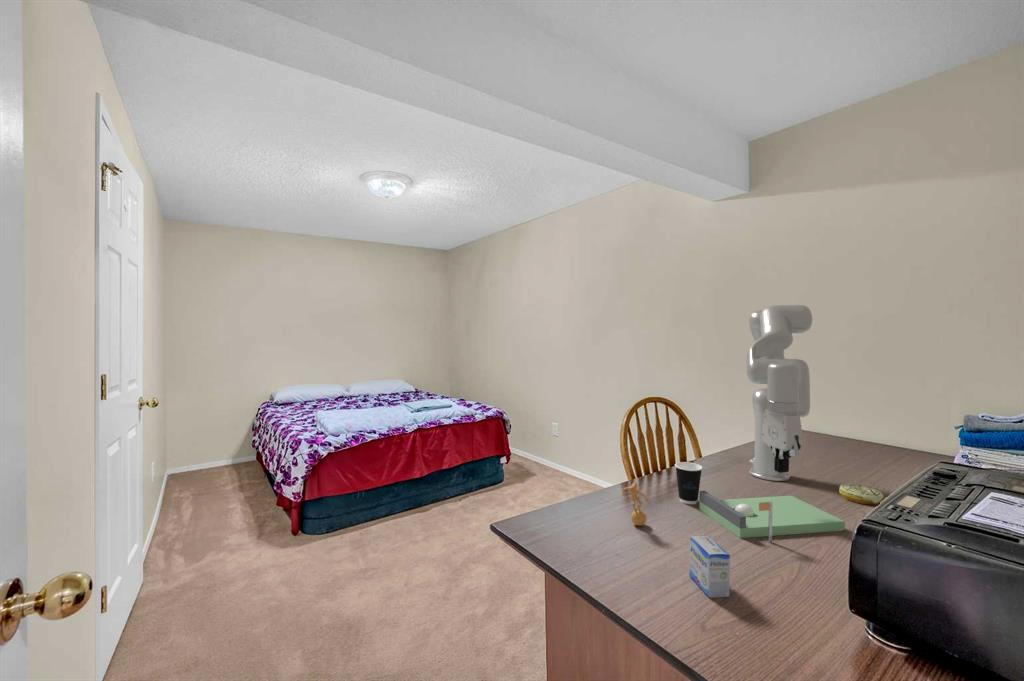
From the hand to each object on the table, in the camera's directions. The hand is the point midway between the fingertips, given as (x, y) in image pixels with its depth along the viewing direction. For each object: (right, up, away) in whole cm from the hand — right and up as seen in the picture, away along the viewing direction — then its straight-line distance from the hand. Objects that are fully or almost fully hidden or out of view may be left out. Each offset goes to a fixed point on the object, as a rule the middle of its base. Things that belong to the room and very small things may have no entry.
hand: (781, 471), depth 121 cm
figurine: (-42, -13, -6) cm, 45 cm away
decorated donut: (+33, -13, +13) cm, 38 cm away
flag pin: (-13, -13, -15) cm, 24 cm away
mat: (-5, -13, -1) cm, 14 cm away
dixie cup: (-22, -13, +11) cm, 28 cm away
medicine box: (-35, -14, -33) cm, 50 cm away
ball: (-12, -10, -3) cm, 16 cm away
